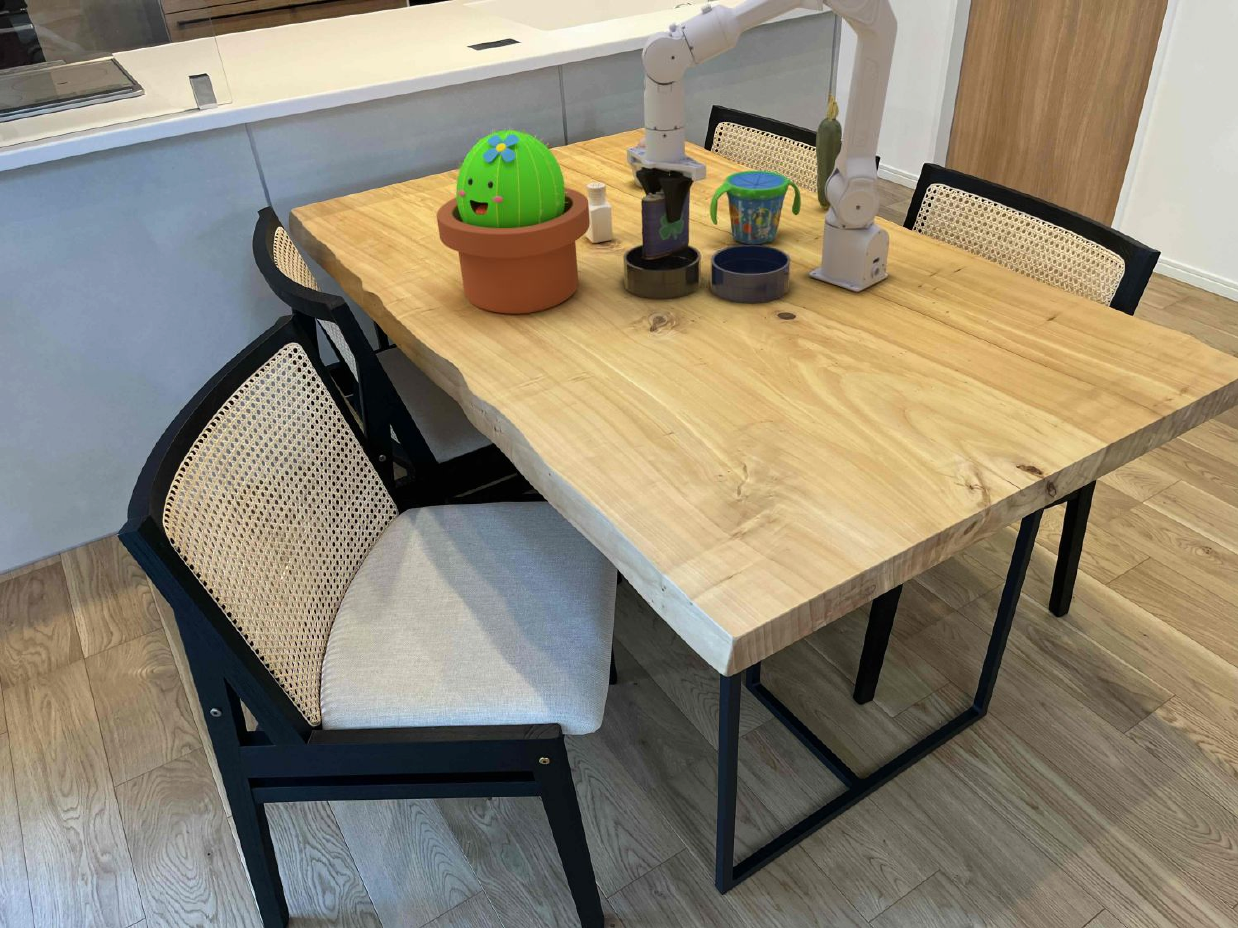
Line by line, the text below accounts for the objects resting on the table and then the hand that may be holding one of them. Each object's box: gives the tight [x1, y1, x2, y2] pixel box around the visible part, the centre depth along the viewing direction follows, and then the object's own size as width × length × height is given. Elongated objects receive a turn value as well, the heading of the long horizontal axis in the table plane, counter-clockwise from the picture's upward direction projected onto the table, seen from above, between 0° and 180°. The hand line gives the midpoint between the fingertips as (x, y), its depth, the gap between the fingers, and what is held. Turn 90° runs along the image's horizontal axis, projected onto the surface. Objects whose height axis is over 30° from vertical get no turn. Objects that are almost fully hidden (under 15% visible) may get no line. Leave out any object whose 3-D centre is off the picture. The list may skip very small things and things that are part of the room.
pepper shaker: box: [585, 181, 614, 244], centre depth 161 cm, size 4×4×10 cm
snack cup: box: [709, 170, 802, 245], centre depth 158 cm, size 16×10×10 cm
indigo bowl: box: [709, 244, 792, 304], centre depth 142 cm, size 12×12×4 cm
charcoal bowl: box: [622, 244, 702, 300], centre depth 145 cm, size 12×12×4 cm
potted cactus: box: [436, 126, 590, 315], centre depth 139 cm, size 22×22×25 cm
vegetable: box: [815, 93, 843, 210], centre depth 165 cm, size 4×4×20 cm
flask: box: [640, 188, 691, 259], centre depth 140 cm, size 9×3×11 cm, turn 131°
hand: (666, 218), depth 140 cm, fingers closed on flask, 3 cm apart
